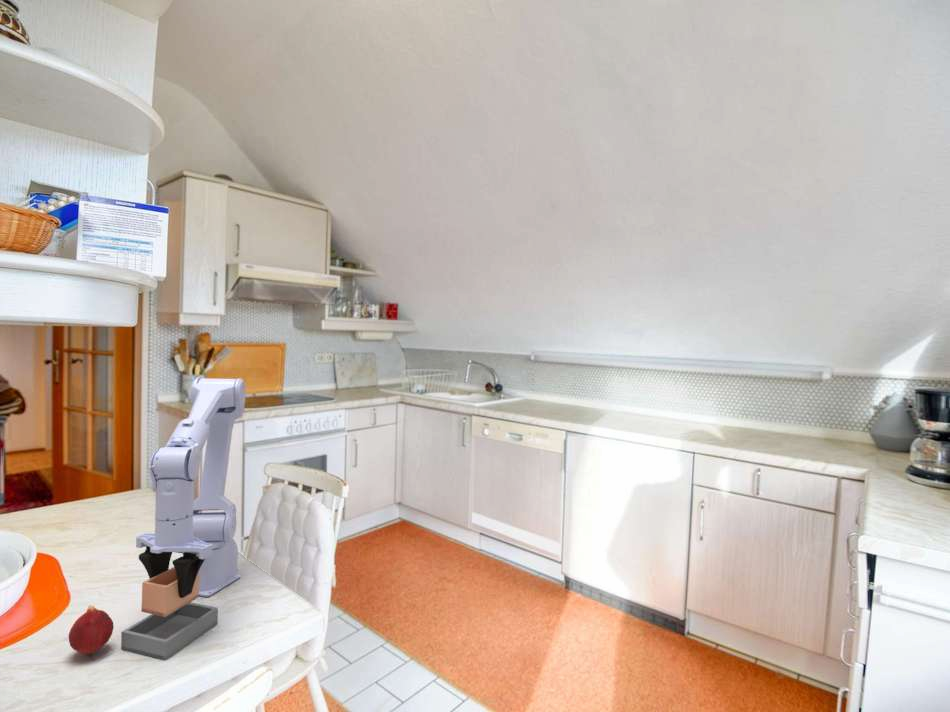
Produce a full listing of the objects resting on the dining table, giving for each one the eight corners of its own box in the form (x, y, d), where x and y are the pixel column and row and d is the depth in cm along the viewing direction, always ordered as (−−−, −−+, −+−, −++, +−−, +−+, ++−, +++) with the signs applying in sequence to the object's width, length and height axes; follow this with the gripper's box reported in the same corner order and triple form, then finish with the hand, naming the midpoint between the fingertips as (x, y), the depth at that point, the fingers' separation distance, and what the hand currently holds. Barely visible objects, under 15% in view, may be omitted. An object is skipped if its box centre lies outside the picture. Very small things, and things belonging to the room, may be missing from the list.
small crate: (176, 592, 92) (176, 565, 92) (198, 597, 90) (199, 569, 90) (141, 611, 85) (142, 582, 85) (165, 617, 84) (166, 587, 83)
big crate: (177, 615, 95) (177, 599, 95) (217, 624, 92) (217, 607, 92) (121, 649, 84) (121, 631, 84) (165, 660, 81) (165, 642, 81)
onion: (120, 643, 85) (121, 597, 85) (96, 665, 80) (97, 615, 79) (85, 643, 85) (86, 596, 85) (58, 664, 79) (59, 615, 79)
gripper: (120, 517, 86) (118, 596, 86) (189, 528, 82) (187, 611, 82) (156, 505, 92) (154, 578, 93) (222, 515, 89) (220, 591, 89)
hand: (172, 592), depth 88 cm, fingers closed on small crate, 5 cm apart
